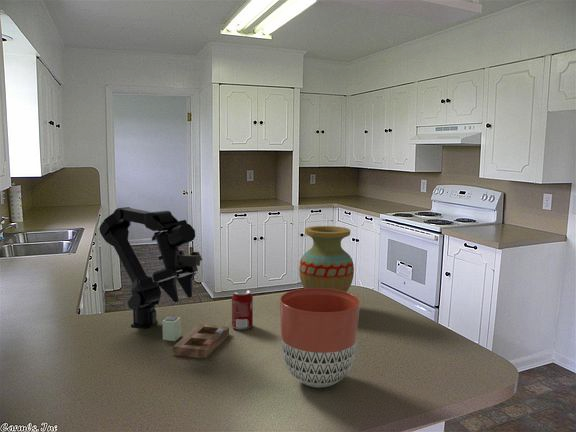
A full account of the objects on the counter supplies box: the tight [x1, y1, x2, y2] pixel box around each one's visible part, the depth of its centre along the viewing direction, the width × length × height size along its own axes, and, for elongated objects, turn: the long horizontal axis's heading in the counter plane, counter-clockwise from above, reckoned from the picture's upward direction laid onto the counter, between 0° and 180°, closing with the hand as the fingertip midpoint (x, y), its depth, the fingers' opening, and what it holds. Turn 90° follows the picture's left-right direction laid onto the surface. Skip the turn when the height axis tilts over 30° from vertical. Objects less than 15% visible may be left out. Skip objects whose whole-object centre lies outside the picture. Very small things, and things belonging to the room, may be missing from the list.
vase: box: [298, 225, 355, 292], centre depth 167 cm, size 20×20×30 cm
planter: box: [279, 287, 361, 389], centre depth 114 cm, size 20×20×21 cm
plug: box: [162, 315, 182, 342], centre depth 141 cm, size 4×4×6 cm
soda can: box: [231, 288, 254, 331], centre depth 150 cm, size 7×7×12 cm
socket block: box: [172, 323, 230, 360], centre depth 137 cm, size 10×18×3 cm, turn 167°
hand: (183, 299), depth 140 cm, fingers open, 9 cm apart
